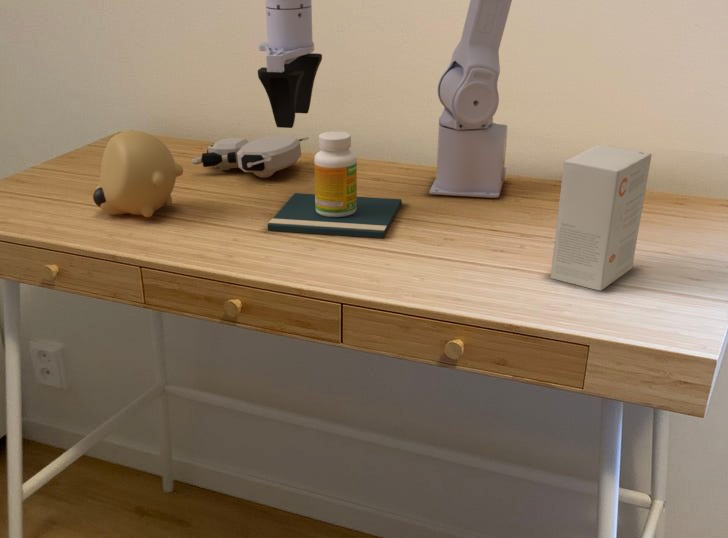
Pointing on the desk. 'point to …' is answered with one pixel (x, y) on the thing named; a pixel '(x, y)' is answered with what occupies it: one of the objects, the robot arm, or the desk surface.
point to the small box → (599, 215)
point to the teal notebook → (364, 222)
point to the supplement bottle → (335, 175)
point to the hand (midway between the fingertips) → (292, 119)
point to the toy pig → (136, 175)
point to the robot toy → (253, 154)
